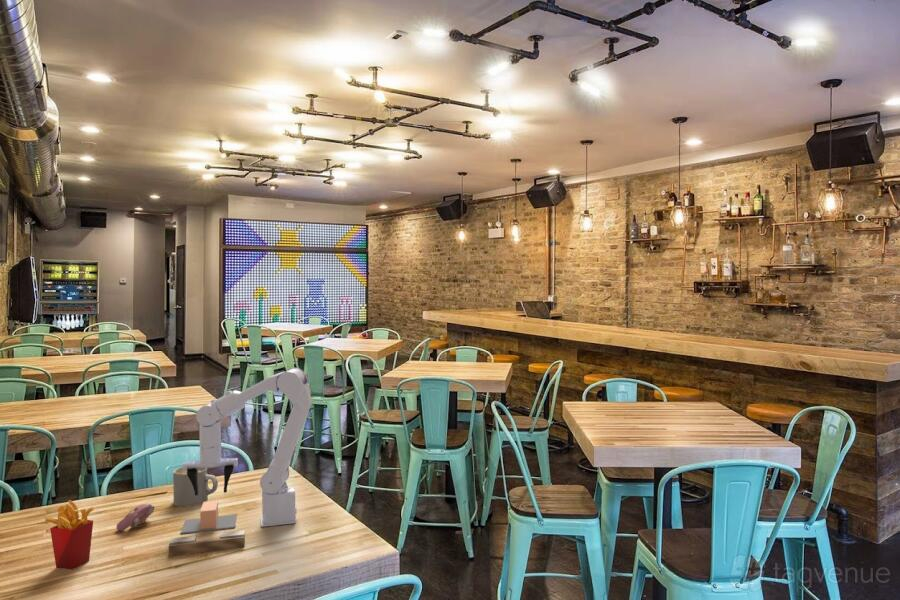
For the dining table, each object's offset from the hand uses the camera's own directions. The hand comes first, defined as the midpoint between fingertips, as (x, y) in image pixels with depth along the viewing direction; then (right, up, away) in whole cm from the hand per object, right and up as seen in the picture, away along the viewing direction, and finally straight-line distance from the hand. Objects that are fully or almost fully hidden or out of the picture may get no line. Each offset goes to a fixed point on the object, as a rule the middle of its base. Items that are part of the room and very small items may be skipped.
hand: (211, 492), depth 174 cm
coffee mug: (-12, -9, +18) cm, 23 cm away
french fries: (-25, -9, -27) cm, 37 cm away
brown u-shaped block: (+6, -9, -17) cm, 19 cm away
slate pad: (0, -9, -1) cm, 9 cm away
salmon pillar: (0, -8, -2) cm, 8 cm away
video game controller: (-21, -9, -2) cm, 23 cm away
